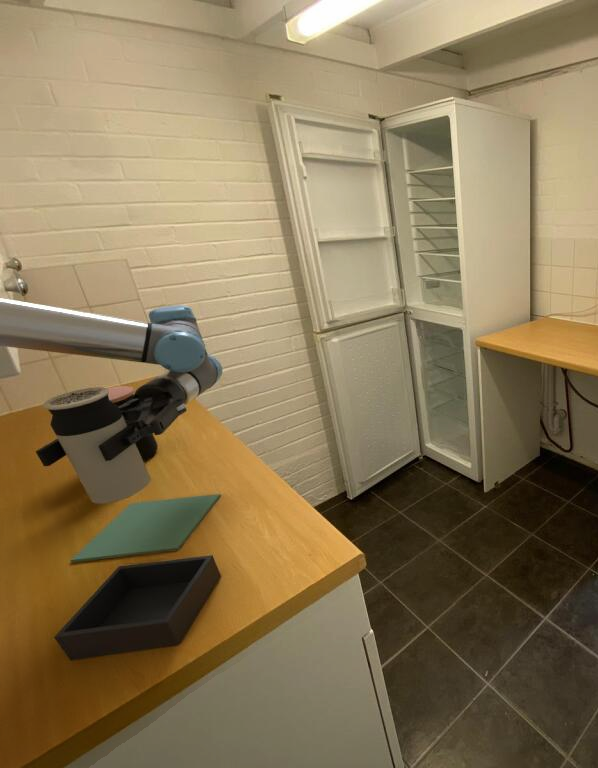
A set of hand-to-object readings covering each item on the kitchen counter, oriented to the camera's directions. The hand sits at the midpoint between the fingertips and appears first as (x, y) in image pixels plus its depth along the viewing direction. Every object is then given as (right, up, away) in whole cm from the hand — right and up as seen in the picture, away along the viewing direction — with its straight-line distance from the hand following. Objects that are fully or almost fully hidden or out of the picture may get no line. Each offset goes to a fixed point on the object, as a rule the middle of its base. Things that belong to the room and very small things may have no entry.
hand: (73, 456), depth 64 cm
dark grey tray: (+11, -25, +2) cm, 27 cm away
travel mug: (0, -8, +8) cm, 11 cm away
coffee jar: (-31, -8, +44) cm, 54 cm away
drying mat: (-5, -18, +20) cm, 27 cm away
